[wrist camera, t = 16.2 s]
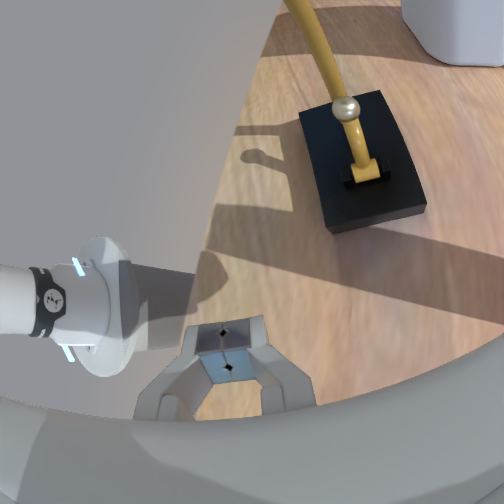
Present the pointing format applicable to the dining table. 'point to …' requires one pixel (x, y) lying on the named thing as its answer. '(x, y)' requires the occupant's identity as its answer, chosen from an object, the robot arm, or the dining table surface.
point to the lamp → (339, 152)
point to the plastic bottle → (458, 29)
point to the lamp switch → (355, 138)
